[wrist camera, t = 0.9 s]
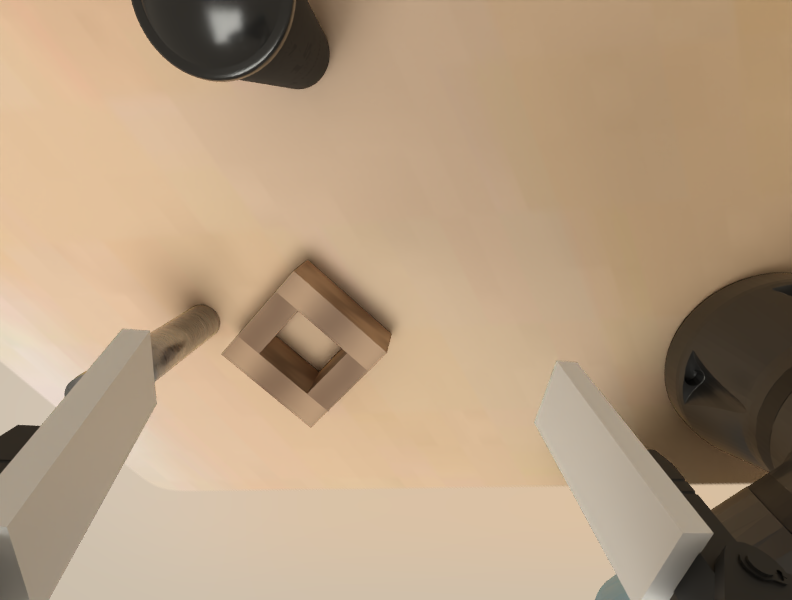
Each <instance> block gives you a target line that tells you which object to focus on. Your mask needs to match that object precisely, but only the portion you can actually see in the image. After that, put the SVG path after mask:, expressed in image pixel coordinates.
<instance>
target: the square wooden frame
mask: <svg viewBox="0 0 792 600" xmlns="http://www.w3.org/2000/svg"><path fill="white" fill-rule="evenodd" d="M297 311H299V312H300V313H301V314H302V315H304V316H305V317H306V318H307V319H308V320H309V321H311V322H312V323H313V324H314V325H315V326H316V327H318V328H319V329H320V330H321V331H322V332H323V333H324V334H326V335H327V336H328V337H329V338H330V339H331V340H333V341H334V342H335V343H336V344H337V345H338V346H340V347H341V348H342V349H341V350H340V351H339V352H338V353H337V354H336V355H335V356H334V357H333V358H332V359H331V360H330V361H329V362H328V363H327V364H326V365H325V366H324V368H323V369H322V370H321V371H320V372H318V371H317V370H316V369H315V368H314V367H312V366H311V365H310V364H309V363H308V362H306V361H305V360H304V359H303V358H302V357H301V356H299V355H298V354H297V353H296V352H295V351H293V350H292V349H291V348H290V347H289V346H288V345H286V344H285V343H284V342H283V341H282V340H280V339H279V338H278V337H277V336H276V334H277V333H278V332H279V331H280V330H281V329H282V328H283V327H284V326H285V325H286V323H287V322H288V321H289V320H290V319H291V318H292V317H293V316H294V315H295V313H296V312H297ZM390 338H391V333H390V332H389V331H387V330H386V329H385V328H384V327H383V326H382V325H381V324H380V323H378V322H377V321H376V320H375V319H374V318H373V317H372V316H371V315H369V314H368V313H367V312H366V311H365V310H364V309H363V308H362V307H360V306H359V305H358V304H357V303H356V302H355V301H354V300H353V299H351V298H350V297H349V296H348V295H347V294H346V293H345V292H344V291H342V290H341V289H340V288H339V287H338V286H337V285H336V284H335V283H333V282H332V281H331V280H330V279H329V278H328V277H327V276H326V275H324V274H323V273H322V272H321V271H320V270H319V269H318V268H317V267H315V266H314V265H313V264H312V263H311V262H310V261H309V260H307V261H306V262H304V263H303V264H302V265H300V266H299V267H298V268H297V269H295V270H294V271H293V272H292V273H291V274H290V276H289V277H288V278H287V279H286V280H285V281H284V282H283V284H282V285H281V286H280V287H279V288H278V289H277V291H276V292H275V293H274V294H273V295H272V296H271V297H270V299H269V300H268V301H267V302H266V303H265V304H264V305H263V307H262V308H261V309H260V310H259V311H258V312H257V314H256V315H255V316H254V317H253V318H252V319H251V320H250V322H249V323H248V324H247V325H246V326H245V327H244V328H243V330H242V331H241V332H240V333H239V334H238V335H237V336H236V338H235V339H234V340H233V341H232V342H231V343H230V345H229V346H228V347H227V348H226V349H225V350H224V351H223V353H222V355H223V356H224V357H225V358H227V359H228V360H229V361H230V362H231V363H233V364H234V365H235V366H236V367H237V368H239V369H240V370H241V371H242V372H244V373H245V374H246V375H247V376H248V377H250V378H251V379H252V380H253V381H255V382H256V383H257V384H258V385H259V386H261V387H262V388H263V389H264V390H265V391H267V392H268V393H269V394H270V395H272V396H273V397H274V398H275V399H276V400H278V401H279V402H280V403H281V404H283V405H284V406H285V407H286V408H287V409H289V410H290V411H291V412H292V413H293V414H295V415H296V416H297V417H298V418H300V419H301V420H302V421H303V422H304V423H306V424H307V425H308V426H309V427H312V426H313V425H314V424H315V423H316V422H317V421H318V420H319V419H320V418H321V417H322V416H323V415H324V414H325V413H326V412H327V411H328V410H329V409H330V408H331V407H332V406H333V405H334V404H335V403H336V402H338V401H339V400H340V399H341V398H342V397H343V396H344V395H345V394H346V393H347V392H348V391H349V390H350V389H351V388H352V387H353V386H354V385H355V384H356V383H357V382H358V381H359V380H360V379H361V378H362V377H363V376H364V375H365V374H366V373H367V372H368V371H369V370H370V369H371V368H372V367H373V366H374V365H375V364H376V363H377V362H378V361H379V360H380V359H381V358H382V357H383V356H384V355H385V354H386V353H387V350H388V346H389V342H390Z"/></svg>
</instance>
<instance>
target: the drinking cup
mask: <svg viewBox="0 0 792 600" xmlns="http://www.w3.org/2000/svg"><path fill="white" fill-rule="evenodd" d="M131 1H132V5H133V8H134V11H135V14H136V17H137V19H138V21H139V23H140V26H141V27H142V29H143V31H144V33H145V35H146V36H147V38H148V39H149V41H150V42H151V44H152V45H153V46H154V47H155V49H156V50H157V51H158V52H159V53H160V54H161V55H162V56H163V57H164V58H165V59H166V60H167V61H168V62H170V63H171V64H172V65H174V66H175V67H177V68H178V69H180V70H182V71H183V72H185V73H187V74H189V75H192V76H195V77H197V78H200V79H204V80H208V81H215V82H228V81H235V80H243V81H250V82H256V83H262V84H268V85H274V86H280V87H286V88H292V89H304V88H308V87H310V86H312V85H314V84H315V83H317V82H318V81H319V80H320V79H321V77H322V76H323V75H324V73H325V71H326V69H327V66H328V62H329V46H328V42H327V39H326V37H325V35H324V33H323V31H322V29H321V27H320V25H319V23H318V21H317V19H316V17H315V15H314V13H313V11H312V9H311V7H310V5H309V3H308V1H307V0H131Z"/></svg>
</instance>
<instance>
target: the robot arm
mask: <svg viewBox="0 0 792 600" xmlns="http://www.w3.org/2000/svg"><path fill="white" fill-rule="evenodd" d="M665 384H666V389H667V393H668V396H669V399H670V401H671V403H672V405H673V407H674V408H675V410H676V412H677V413H678V414H679V415H680V417H681V418H682V419H683V420H684V421H685V422H686V423H687V424H688V425H689V426H690V427H691V428H692V429H693V430H694V431H695V432H696V433H697V434H698V435H699V436H700V437H701V438H703V439H704V440H705V441H707V442H708V443H710V444H711V445H713V446H714V447H716V448H718V449H720V450H722V451H724V452H726V453H729V454H731V455H733V456H735V457H737V458H740V459H742V460H744V461H746V462H748V463H750V464H753V465H755V466H757V467H759V468H761V469H764V470H766V471H768V472H769V473H768V474H766V475H765V476H763V477H762V478H760V479H759V480H757V481H756V482H754V483H753V484H751V485H750V486H748V487H746V488H744V489H742V490H741V491H739V492H738V493H736V494H735V495H733V496H732V497H730V498H729V499H727V500H725V501H724V502H722V503H721V504H720V505H718V506H716V507H715V508H713V509H712V510H710V509H709V508H708V506H707V505H706V504H705V503H704V502H703V500H702V499H701V498H700V497H699V496H698V495H696V494H695V491H694V490H693V488H692V487H691V486H690V485H689V484H688V482H685V480H684V478H683V476H682V475H681V474H680V473H679V472H678V470H677V469H676V468H675V467H674V466H673V464H672V463H670V462H669V461H668V460H667V459H665V458H664V457H663V456H661V455H660V454H659V453H658V452H656V451H655V450H647V449H646V448H645V447H644V445H643V444H642V443H641V442H640V440H639V439H638V438H637V437H636V435H635V434H634V433H633V432H632V430H631V429H630V428H629V427H628V425H627V424H626V423H625V422H624V420H623V419H622V418H621V417H620V415H619V414H618V413H617V412H616V410H615V409H614V408H613V407H612V405H611V404H610V403H609V402H608V400H607V399H606V398H605V397H604V395H603V394H602V393H601V392H600V390H599V389H598V388H597V387H596V385H595V384H594V383H593V382H592V380H591V379H590V378H589V377H588V375H587V374H586V373H585V372H584V370H583V369H582V368H581V367H580V365H579V364H578V363H577V362H569V361H556V363H555V366H554V369H553V372H552V374H551V377H550V380H549V383H548V386H547V388H546V391H545V394H544V397H543V399H542V402H541V405H540V408H539V410H538V413H537V416H536V419H535V422H534V423H535V425H536V427H537V429H538V431H539V432H540V434H541V436H542V438H543V440H544V442H545V444H546V445H547V447H548V449H549V451H550V453H551V455H552V456H553V458H554V460H555V462H556V464H557V466H558V467H559V469H560V471H561V473H562V475H563V477H564V479H565V480H566V482H567V484H568V486H569V488H570V489H571V491H572V493H573V495H574V497H575V499H576V501H577V502H578V504H579V506H580V508H581V510H582V512H583V514H584V515H585V517H586V519H587V521H588V523H589V525H590V527H591V528H592V530H593V532H594V534H595V536H596V538H597V539H598V541H599V543H600V545H601V547H602V549H603V550H604V552H605V554H606V556H607V558H608V560H609V561H610V563H611V565H612V567H613V569H614V571H615V573H616V575H615V576H613V577H612V578H611V579H609V580H608V581H607V582H606V583H605V584H604V585H603V586H602V587H601V588H600V590H599V592H598V594H597V596H596V599H595V600H792V273H770V274H763V275H758V276H754V277H750V278H747V279H744V280H741V281H738V282H736V283H733V284H731V285H729V286H727V287H725V288H723V289H721V290H720V291H718V292H716V293H715V294H713V295H712V296H710V297H709V298H707V299H706V300H705V301H704V302H702V303H701V304H700V305H699V306H698V307H697V308H696V309H695V310H694V311H693V312H692V313H691V314H690V315H689V316H688V317H687V318H686V320H685V321H684V322H683V323H682V325H681V326H680V328H679V329H678V331H677V333H676V334H675V336H674V338H673V340H672V343H671V345H670V348H669V351H668V354H667V358H666V364H665ZM156 404H157V402H156V391H155V380H154V369H153V358H152V347H151V336H150V331H146V330H133V329H122V330H121V331H120V332H119V333H118V335H117V336H116V337H115V338H114V339H113V341H112V342H111V343H110V344H109V345H108V346H107V348H106V349H105V350H104V351H103V352H102V354H101V355H100V356H99V357H98V358H97V360H96V361H95V362H94V363H93V364H92V365H91V367H90V368H89V369H88V370H87V371H86V373H85V374H84V375H83V376H82V377H81V379H80V380H79V381H78V382H77V383H76V385H75V386H74V387H73V388H72V389H71V390H70V392H69V393H68V394H67V395H66V396H65V398H64V399H63V400H62V401H61V402H60V404H59V405H58V406H57V407H56V408H55V410H54V411H53V412H52V413H51V414H50V416H49V417H48V418H47V419H46V420H45V422H44V423H43V424H42V425H41V426H29V425H17V426H16V427H14V428H12V429H11V430H9V431H8V432H6V433H4V434H3V435H1V436H0V600H49V598H50V597H51V595H52V593H53V591H54V589H55V587H56V586H57V584H58V582H59V580H60V578H61V576H62V575H63V573H64V571H65V569H66V568H67V566H68V564H69V562H70V560H71V558H72V557H73V555H74V553H75V551H76V549H77V548H78V546H79V544H80V542H81V540H82V538H83V537H84V535H85V533H86V531H87V529H88V527H89V526H90V524H91V522H92V520H93V519H94V517H95V515H96V513H97V511H98V509H99V508H100V506H101V504H102V502H103V500H104V499H105V497H106V495H107V493H108V491H109V489H110V488H111V486H112V484H113V482H114V480H115V479H116V477H117V475H118V473H119V471H120V469H121V468H122V466H123V464H124V462H125V460H126V459H127V457H128V455H129V453H130V451H131V449H132V448H133V446H134V444H135V442H136V440H137V439H138V437H139V435H140V433H141V431H142V430H143V428H144V426H145V424H146V422H147V420H148V419H149V417H150V415H151V413H152V411H153V410H154V408H155V406H156Z"/></svg>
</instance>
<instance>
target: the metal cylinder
mask: <svg viewBox="0 0 792 600" xmlns="http://www.w3.org/2000/svg"><path fill="white" fill-rule="evenodd" d="M219 327H220V320H219V317H218V315H217V313H216V312H215V311H214V310H213V309H212V308H210V307H208V306H205V305H196V306H194V307H192V308H190V309H189V310H187V311H186V312H184V313H182V314H181V315H179V316H177V317H176V318H174V319H172V320H171V321H169V322H167V323H166V324H164V325H163V326H161V327H159V328H158V329H156V330H154V331H153V332H151V333H150V336H151V347H152V358H153V369H154V380H155V381H156V380H158V379H159V378H160V377H161V376H163V375H164V374H165V373H166V372H168V371H169V370H170V369H172V368H173V367H174V366H175V365H177V364H178V363H179V362H180V361H182V360H183V359H184V358H185V357H187V356H188V355H189V354H190V353H192V352H193V351H194V350H195V349H197V348H198V347H199V346H201V345H202V344H203V343H204V342H206V341H207V340H208V339H209V338H211V337H212V336H213V335H214V334H216V333H217V331H218V330H219ZM85 373H86V371H85V372H84V373H82V374H80V375H79V376H77V377H76V378H75V379H74V380H72V381H71V382H70V383H69V384H68V385H67V387H66V389H65V396H66V395H67V394H68V393H69V392H70V390H71V389H72V388H73V387H74V386H75V385H76V383H77V382H78V381H79V380H80V379H81V377H82V376H83V375H84V374H85Z"/></svg>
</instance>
